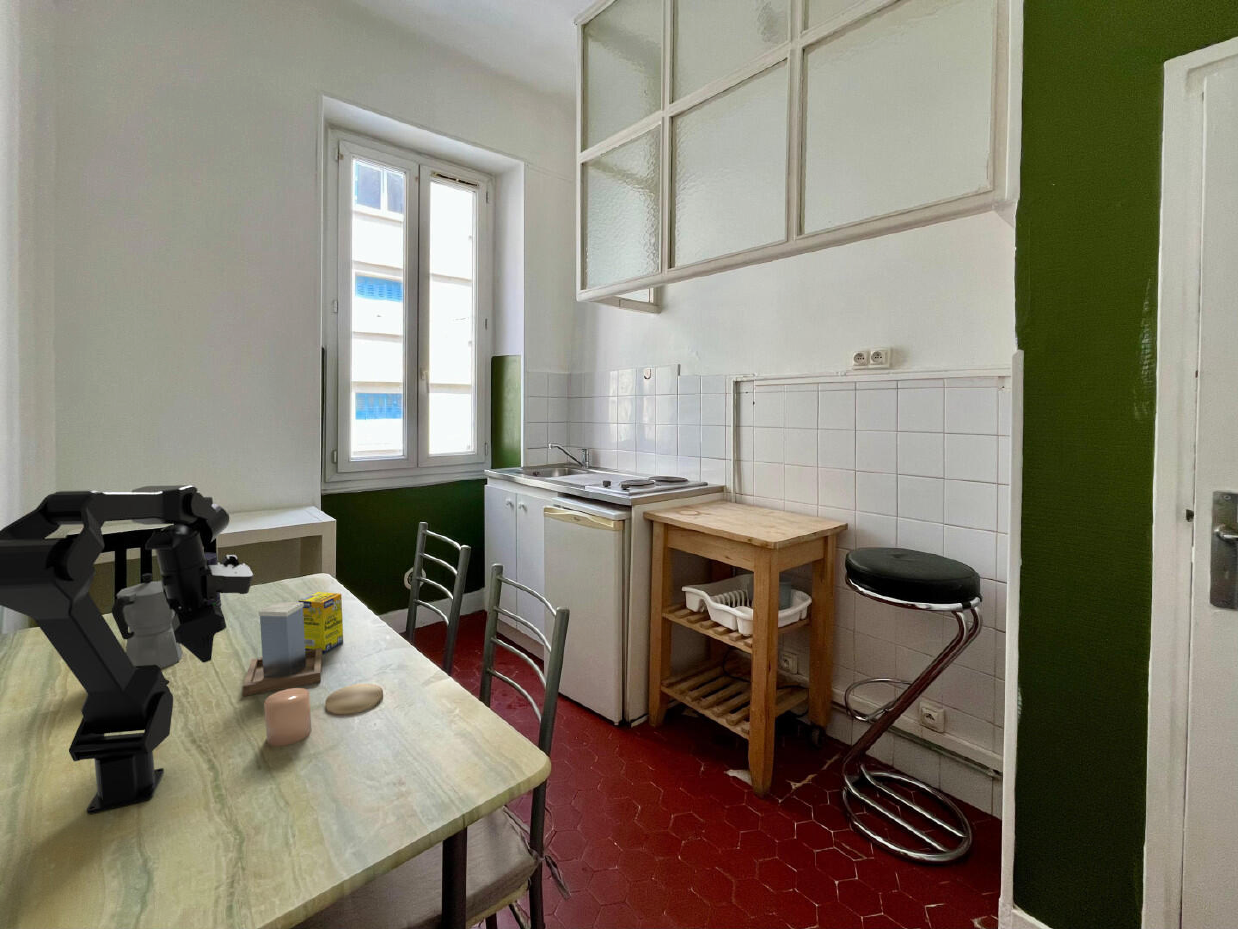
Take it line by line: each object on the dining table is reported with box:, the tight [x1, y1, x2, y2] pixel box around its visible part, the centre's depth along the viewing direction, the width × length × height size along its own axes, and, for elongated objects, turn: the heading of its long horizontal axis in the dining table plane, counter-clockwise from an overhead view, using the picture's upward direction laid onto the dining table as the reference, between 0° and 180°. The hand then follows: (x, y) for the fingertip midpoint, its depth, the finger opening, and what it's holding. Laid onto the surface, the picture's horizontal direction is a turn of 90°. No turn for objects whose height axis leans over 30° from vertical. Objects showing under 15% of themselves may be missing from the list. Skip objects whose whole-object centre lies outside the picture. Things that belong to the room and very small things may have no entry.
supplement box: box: [297, 591, 344, 655], centre depth 120 cm, size 6×6×11 cm
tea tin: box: [258, 601, 306, 678], centre depth 108 cm, size 5×5×13 cm
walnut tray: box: [242, 648, 323, 697], centre depth 108 cm, size 12×12×2 cm
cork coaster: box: [325, 683, 384, 716], centre depth 99 cm, size 9×9×1 cm
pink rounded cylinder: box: [263, 687, 312, 747], centre depth 89 cm, size 6×6×6 cm
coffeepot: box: [111, 572, 184, 670], centre depth 111 cm, size 15×9×18 cm, turn 6°
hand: (202, 646), depth 94 cm, fingers open, 9 cm apart
